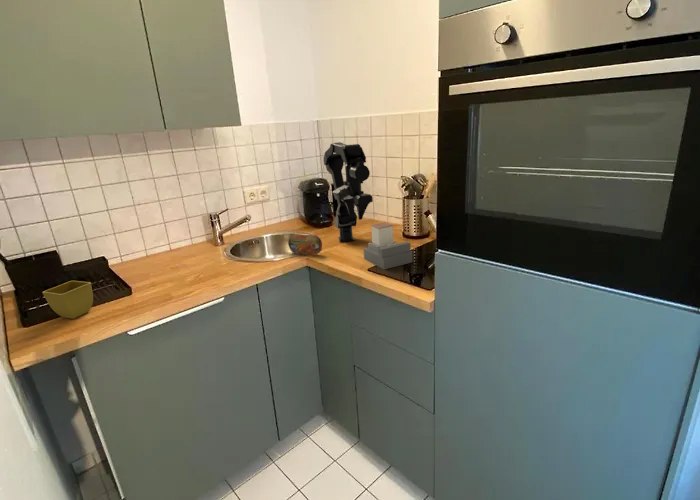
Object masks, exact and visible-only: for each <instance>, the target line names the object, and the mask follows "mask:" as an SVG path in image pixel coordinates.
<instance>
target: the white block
mask: <svg viewBox="0 0 700 500" xmlns="http://www.w3.org/2000/svg"><path fill="white" fill-rule="evenodd" d="M370 227H371V228H370V229H371V243H373V244H375V245H377V246H379V247H380V248H382V247H386V246H387V245H390V244H393V241H394V226H393V224H392V223H390V222H385V221H384V222H379V223H373V224H371V225H370Z"/></svg>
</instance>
